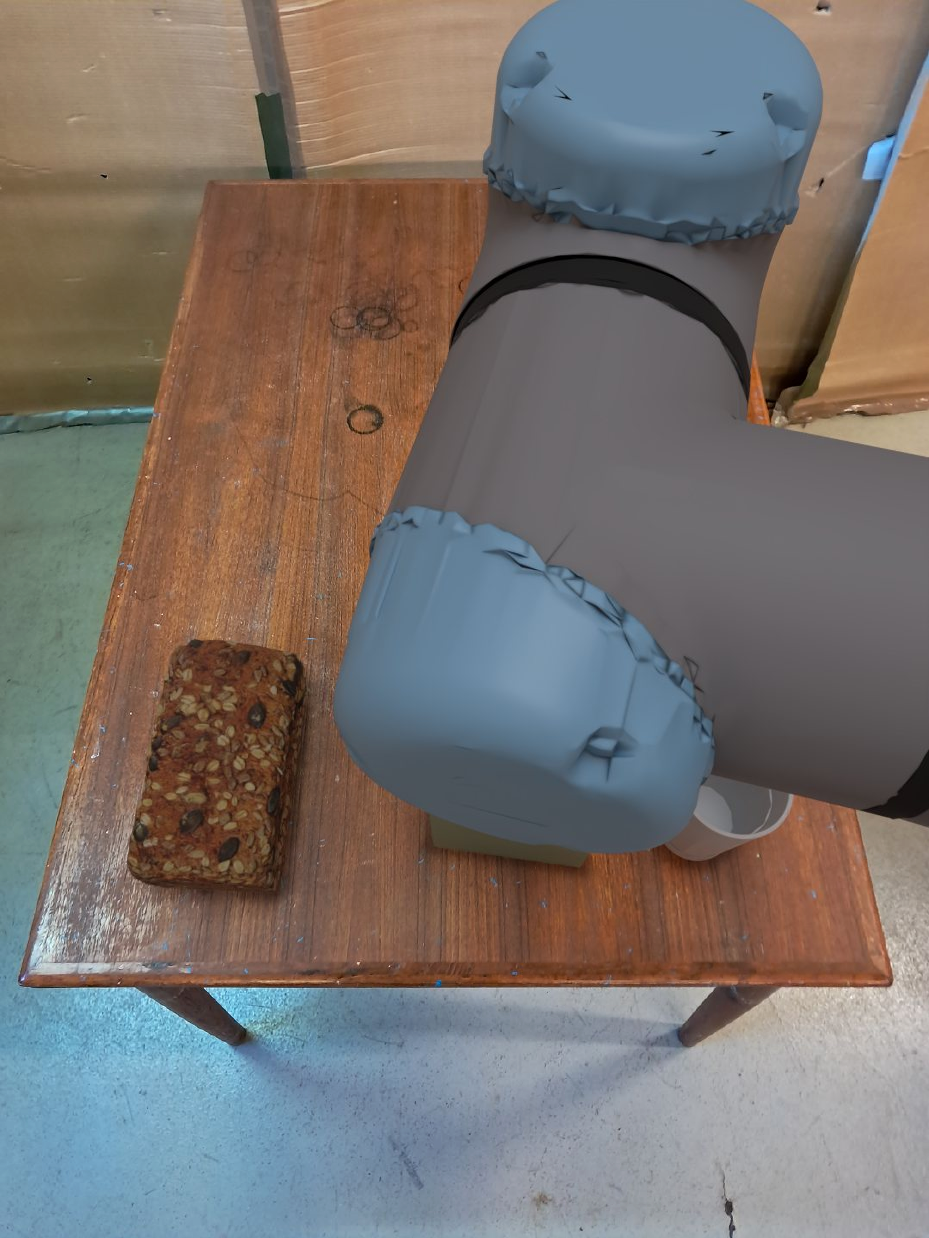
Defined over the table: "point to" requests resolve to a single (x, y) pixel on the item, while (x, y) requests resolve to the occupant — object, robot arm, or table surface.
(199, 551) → the table surface
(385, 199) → the table surface
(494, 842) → the pedestal
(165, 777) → the bread
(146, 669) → the table surface
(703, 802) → the cup
